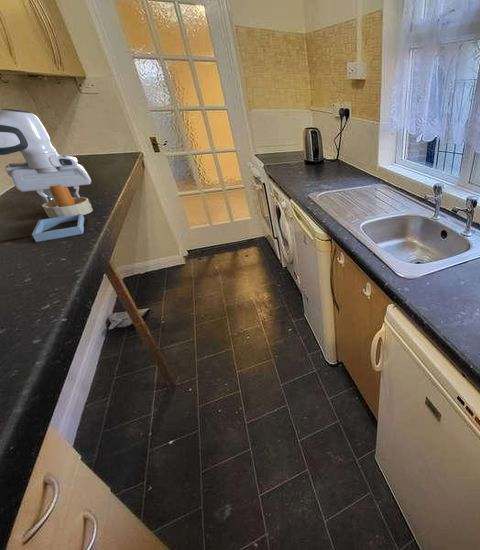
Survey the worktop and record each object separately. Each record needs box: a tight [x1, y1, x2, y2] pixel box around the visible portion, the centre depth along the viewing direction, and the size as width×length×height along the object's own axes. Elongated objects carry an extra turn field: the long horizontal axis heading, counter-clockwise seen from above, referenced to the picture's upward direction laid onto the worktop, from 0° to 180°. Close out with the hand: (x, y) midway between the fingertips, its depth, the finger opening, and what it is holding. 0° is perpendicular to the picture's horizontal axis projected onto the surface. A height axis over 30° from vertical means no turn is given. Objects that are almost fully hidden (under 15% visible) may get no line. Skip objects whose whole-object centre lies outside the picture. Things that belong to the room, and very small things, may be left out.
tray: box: [31, 214, 85, 243], centre depth 102 cm, size 12×16×3 cm
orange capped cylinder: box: [49, 185, 76, 207], centre depth 111 cm, size 5×5×15 cm
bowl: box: [41, 196, 94, 219], centre depth 114 cm, size 13×13×5 cm
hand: (64, 199), depth 112 cm, fingers open, 6 cm apart
